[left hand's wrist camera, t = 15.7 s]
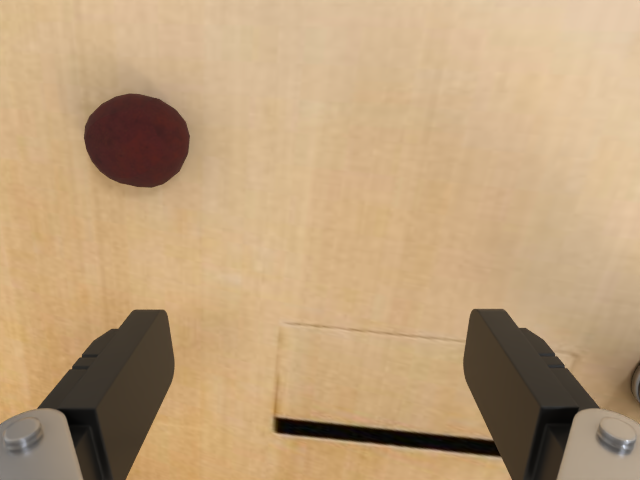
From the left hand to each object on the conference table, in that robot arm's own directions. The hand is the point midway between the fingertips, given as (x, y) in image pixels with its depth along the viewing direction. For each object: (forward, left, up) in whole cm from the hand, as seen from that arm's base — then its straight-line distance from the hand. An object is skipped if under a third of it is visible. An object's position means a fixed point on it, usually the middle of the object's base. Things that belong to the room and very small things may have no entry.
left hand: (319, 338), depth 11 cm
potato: (+5, +14, -29) cm, 32 cm away
